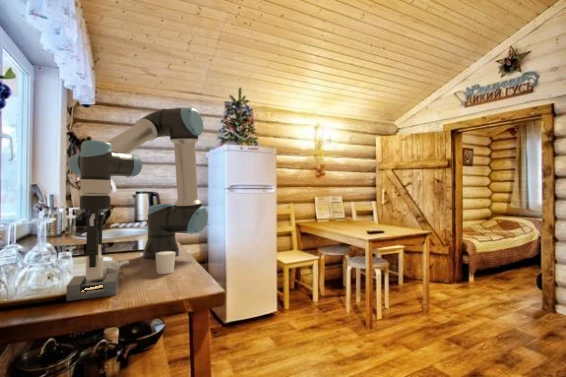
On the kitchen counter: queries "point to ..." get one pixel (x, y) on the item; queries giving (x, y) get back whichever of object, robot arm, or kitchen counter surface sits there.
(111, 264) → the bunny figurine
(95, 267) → the robot arm
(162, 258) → the white cup
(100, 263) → the pepper shaker
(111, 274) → the socket mount
